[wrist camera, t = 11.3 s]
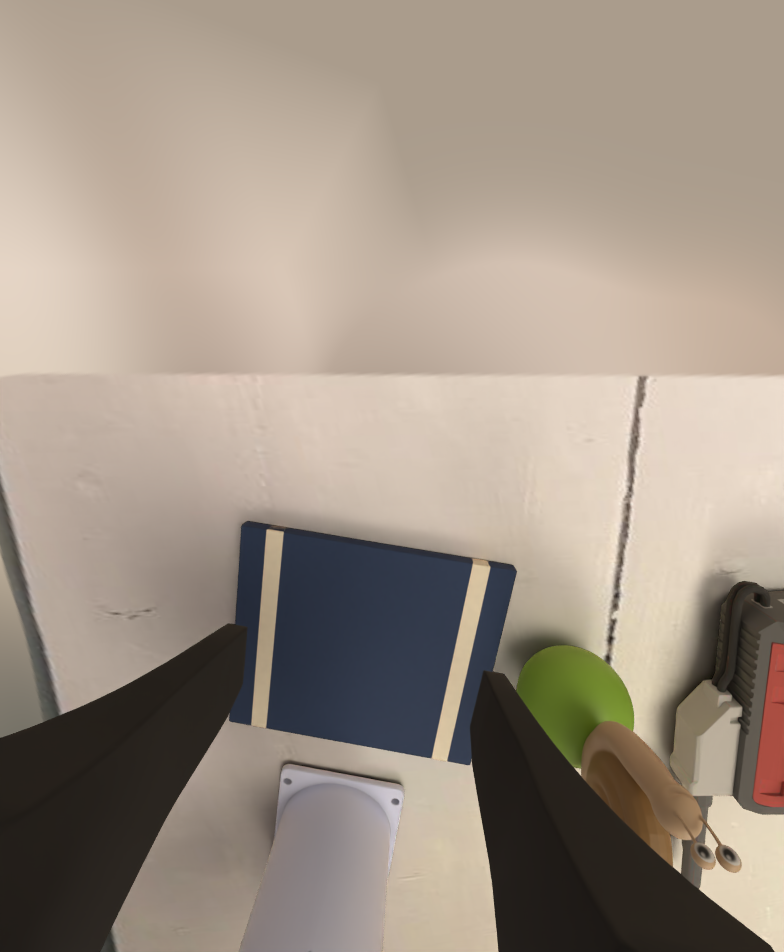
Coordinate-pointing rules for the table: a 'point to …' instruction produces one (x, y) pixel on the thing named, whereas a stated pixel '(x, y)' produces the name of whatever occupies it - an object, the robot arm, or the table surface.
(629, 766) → the snail figurine
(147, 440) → the table surface
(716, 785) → the walkie-talkie
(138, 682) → the robot arm
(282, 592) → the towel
